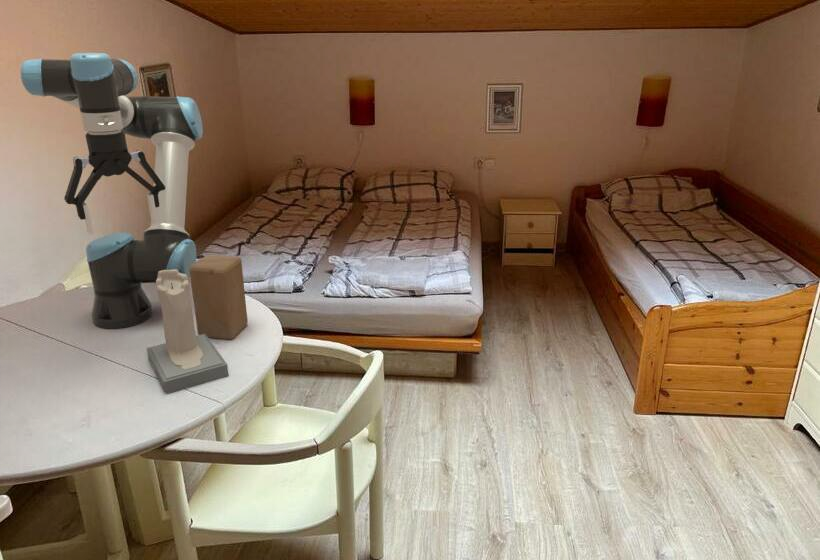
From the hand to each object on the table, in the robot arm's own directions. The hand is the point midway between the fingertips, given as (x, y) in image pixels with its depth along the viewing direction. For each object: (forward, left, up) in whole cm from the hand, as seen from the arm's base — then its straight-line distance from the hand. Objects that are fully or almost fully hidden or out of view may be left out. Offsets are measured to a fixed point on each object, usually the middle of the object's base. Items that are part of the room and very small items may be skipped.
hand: (123, 226), depth 132 cm
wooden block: (-2, +20, -33) cm, 39 cm away
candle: (+12, +7, -30) cm, 33 cm away
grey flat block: (+12, +7, -33) cm, 36 cm away
